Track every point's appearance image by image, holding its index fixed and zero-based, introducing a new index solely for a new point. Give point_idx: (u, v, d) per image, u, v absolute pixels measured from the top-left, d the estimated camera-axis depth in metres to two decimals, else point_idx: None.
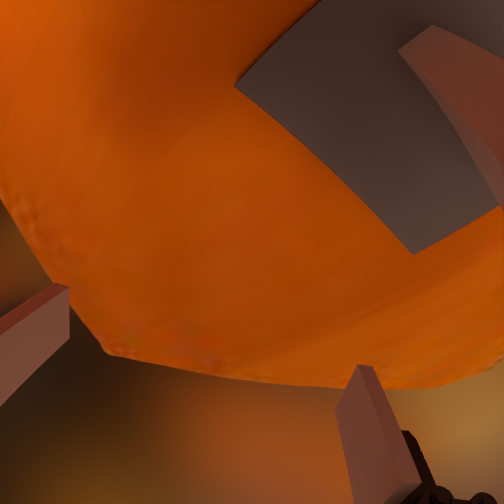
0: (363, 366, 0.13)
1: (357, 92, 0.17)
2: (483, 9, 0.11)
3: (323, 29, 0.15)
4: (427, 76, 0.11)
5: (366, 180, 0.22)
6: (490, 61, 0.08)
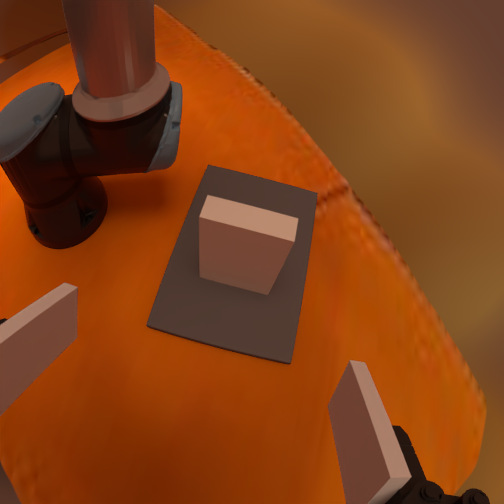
0: (355, 362, 0.13)
1: (195, 302, 0.44)
2: None
3: (169, 285, 0.45)
4: (199, 258, 0.41)
5: (227, 338, 0.42)
6: None
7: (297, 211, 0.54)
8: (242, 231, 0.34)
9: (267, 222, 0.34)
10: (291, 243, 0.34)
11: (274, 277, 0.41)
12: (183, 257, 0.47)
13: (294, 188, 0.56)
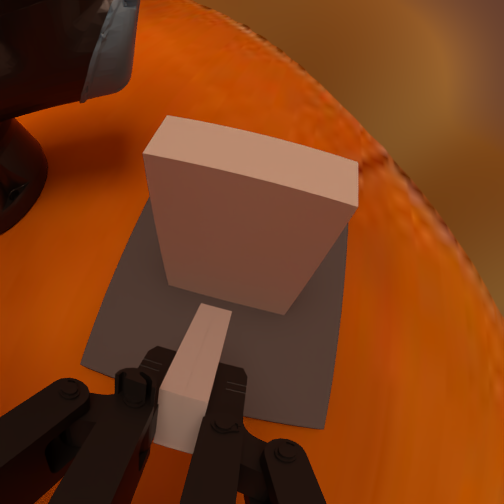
0: (221, 309, 0.15)
1: (160, 328, 0.25)
2: None
3: (119, 298, 0.26)
4: (161, 250, 0.22)
5: None
6: None
7: None
8: (240, 182, 0.14)
9: (296, 165, 0.15)
10: (350, 211, 0.14)
11: (300, 286, 0.22)
12: (144, 251, 0.28)
13: None
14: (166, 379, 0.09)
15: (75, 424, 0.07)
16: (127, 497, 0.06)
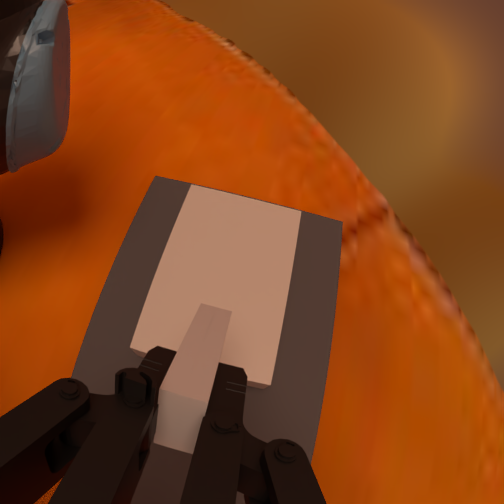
0: (221, 309, 0.15)
1: None
2: None
3: None
4: (154, 276, 0.24)
5: None
6: None
7: (309, 257, 0.30)
8: (241, 200, 0.28)
9: None
10: (298, 214, 0.28)
11: (282, 305, 0.24)
12: (100, 354, 0.23)
13: (303, 214, 0.32)
14: (166, 379, 0.09)
15: (75, 424, 0.07)
16: (127, 497, 0.06)
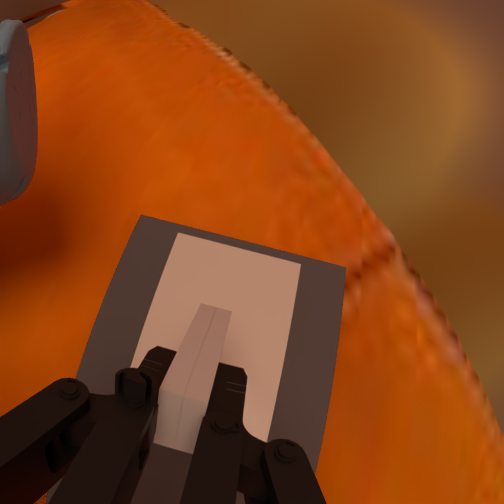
0: (221, 309, 0.15)
1: None
2: None
3: None
4: (138, 343, 0.21)
5: None
6: None
7: (308, 311, 0.27)
8: (233, 252, 0.25)
9: None
10: (297, 268, 0.25)
11: (276, 376, 0.21)
12: None
13: (303, 260, 0.30)
14: (166, 379, 0.09)
15: (75, 424, 0.07)
16: (127, 497, 0.06)
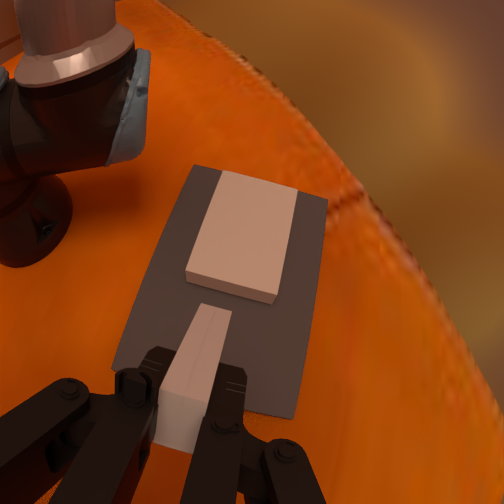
0: (221, 309, 0.15)
1: (172, 341, 0.33)
2: None
3: (140, 318, 0.34)
4: (201, 226, 0.37)
5: None
6: None
7: (303, 222, 0.43)
8: (257, 181, 0.41)
9: None
10: (295, 191, 0.41)
11: (284, 246, 0.37)
12: (158, 282, 0.36)
13: (299, 193, 0.46)
14: (166, 379, 0.09)
15: (75, 424, 0.07)
16: (127, 497, 0.06)
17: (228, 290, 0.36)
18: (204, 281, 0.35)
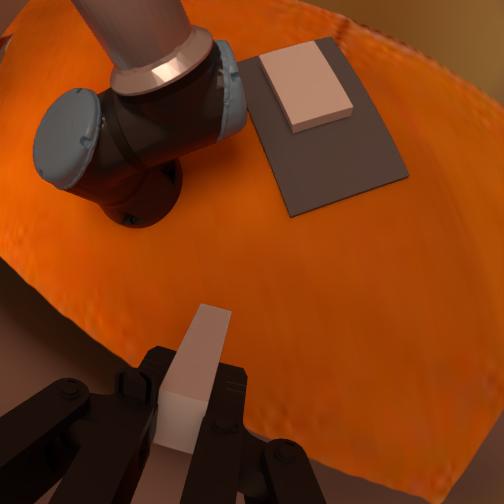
0: (221, 309, 0.15)
1: (313, 172, 0.47)
2: None
3: (283, 174, 0.48)
4: (278, 95, 0.46)
5: (356, 184, 0.46)
6: (274, 93, 0.49)
7: (329, 58, 0.49)
8: (286, 49, 0.47)
9: None
10: (313, 42, 0.46)
11: (335, 78, 0.45)
12: (276, 145, 0.48)
13: None
14: (166, 379, 0.09)
15: (75, 424, 0.07)
16: (127, 497, 0.06)
17: (322, 122, 0.47)
18: (305, 125, 0.46)
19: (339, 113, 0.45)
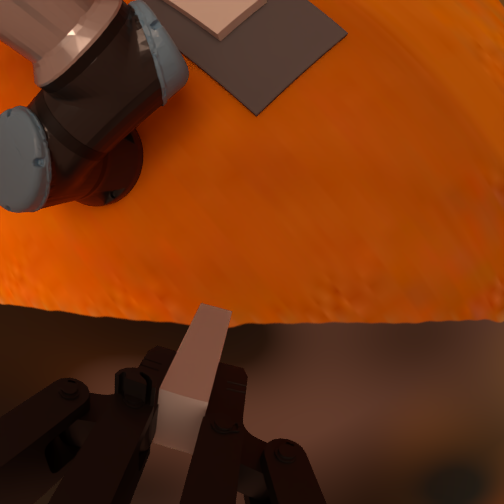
0: (221, 309, 0.15)
1: (257, 67, 0.42)
2: None
3: (230, 80, 0.43)
4: (190, 14, 0.37)
5: (302, 60, 0.41)
6: (184, 14, 0.39)
7: None
8: None
9: None
10: None
11: None
12: (210, 59, 0.42)
13: None
14: (166, 379, 0.09)
15: (75, 424, 0.07)
16: (127, 497, 0.06)
17: (243, 19, 0.39)
18: (229, 28, 0.39)
19: (256, 4, 0.37)
